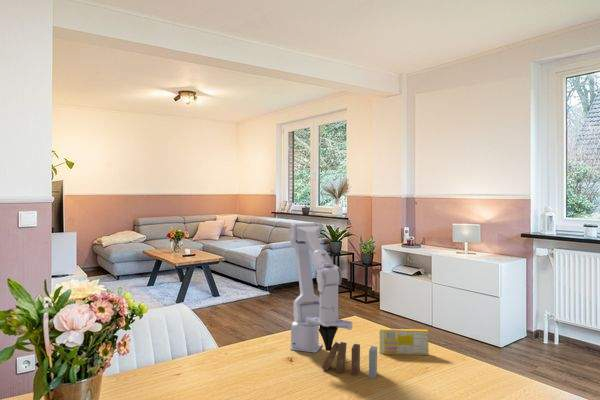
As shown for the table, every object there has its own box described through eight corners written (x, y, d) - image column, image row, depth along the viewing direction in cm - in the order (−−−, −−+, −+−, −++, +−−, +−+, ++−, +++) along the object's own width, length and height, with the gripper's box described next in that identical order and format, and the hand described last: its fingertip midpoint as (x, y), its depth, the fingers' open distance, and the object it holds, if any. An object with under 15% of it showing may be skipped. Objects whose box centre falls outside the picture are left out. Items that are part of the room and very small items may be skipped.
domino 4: (368, 377, 122) (369, 350, 122) (371, 371, 126) (371, 345, 126) (375, 378, 121) (375, 351, 121) (376, 372, 125) (377, 346, 125)
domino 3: (351, 374, 124) (351, 348, 124) (354, 369, 128) (354, 343, 127) (357, 375, 123) (357, 349, 123) (359, 370, 127) (359, 344, 127)
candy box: (427, 353, 141) (427, 329, 140) (428, 355, 138) (428, 331, 138) (379, 351, 142) (379, 327, 142) (379, 353, 140) (379, 329, 140)
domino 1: (321, 367, 127) (332, 346, 125) (325, 362, 131) (335, 341, 129) (326, 371, 126) (337, 349, 125) (329, 365, 130) (340, 344, 129)
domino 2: (336, 372, 125) (338, 346, 125) (339, 366, 129) (341, 341, 129) (341, 373, 125) (343, 347, 124) (344, 368, 128) (346, 342, 128)
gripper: (302, 307, 126) (302, 351, 126) (349, 312, 121) (348, 357, 122) (309, 301, 133) (309, 343, 133) (353, 305, 128) (353, 348, 128)
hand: (328, 349), depth 128 cm, fingers closed
